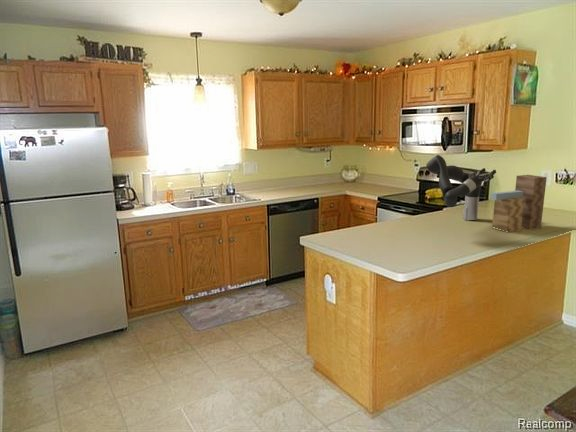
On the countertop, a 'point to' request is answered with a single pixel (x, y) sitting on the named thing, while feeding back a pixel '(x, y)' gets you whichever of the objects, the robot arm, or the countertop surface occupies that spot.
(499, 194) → the bar
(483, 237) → the countertop surface
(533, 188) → the post
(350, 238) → the countertop surface
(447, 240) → the countertop surface
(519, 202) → the block
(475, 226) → the countertop surface
